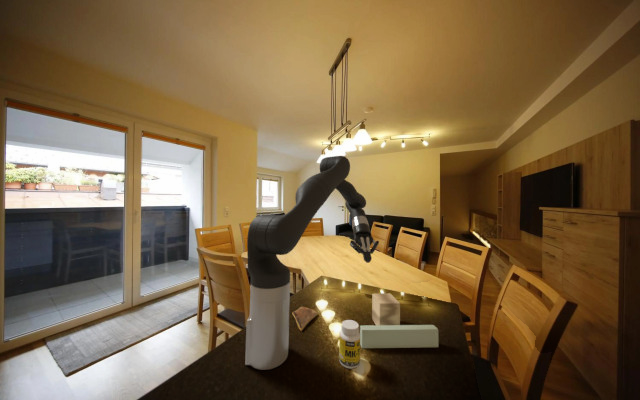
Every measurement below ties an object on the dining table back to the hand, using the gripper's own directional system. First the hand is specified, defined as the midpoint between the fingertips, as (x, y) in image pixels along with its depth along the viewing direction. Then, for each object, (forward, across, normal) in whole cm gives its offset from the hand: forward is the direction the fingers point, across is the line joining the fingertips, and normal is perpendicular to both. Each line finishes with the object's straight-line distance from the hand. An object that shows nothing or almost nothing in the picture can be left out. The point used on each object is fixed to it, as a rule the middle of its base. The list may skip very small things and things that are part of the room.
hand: (368, 261), depth 82 cm
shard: (+21, -24, 0) cm, 32 cm away
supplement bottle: (+34, -14, -13) cm, 39 cm away
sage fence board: (+30, 0, -10) cm, 31 cm away
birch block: (+23, 0, -3) cm, 23 cm away
